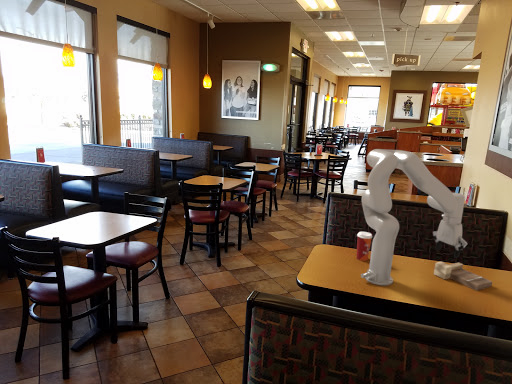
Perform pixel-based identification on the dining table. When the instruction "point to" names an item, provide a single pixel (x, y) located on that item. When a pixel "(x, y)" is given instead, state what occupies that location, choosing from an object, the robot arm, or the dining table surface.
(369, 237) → the paper cup
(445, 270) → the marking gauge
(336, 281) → the dining table surface
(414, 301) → the dining table surface
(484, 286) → the walnut board
